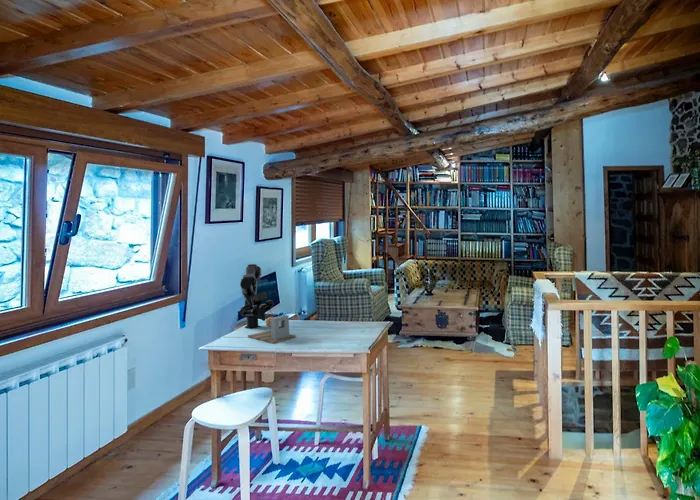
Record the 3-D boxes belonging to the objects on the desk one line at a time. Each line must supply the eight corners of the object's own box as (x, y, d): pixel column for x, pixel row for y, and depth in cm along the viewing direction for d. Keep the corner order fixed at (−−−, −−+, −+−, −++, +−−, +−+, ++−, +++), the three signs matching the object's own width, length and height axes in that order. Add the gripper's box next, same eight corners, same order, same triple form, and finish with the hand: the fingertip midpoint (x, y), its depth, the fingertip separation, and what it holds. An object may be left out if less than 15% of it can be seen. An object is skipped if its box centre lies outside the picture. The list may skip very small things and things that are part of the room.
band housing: (270, 338, 247) (270, 318, 247) (284, 335, 254) (284, 314, 253) (275, 339, 245) (274, 318, 244) (289, 336, 252) (288, 315, 251)
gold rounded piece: (265, 327, 253) (265, 317, 252) (273, 325, 256) (273, 315, 256) (276, 329, 247) (275, 319, 247) (284, 327, 251) (283, 317, 251)
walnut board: (247, 337, 255) (247, 335, 255) (270, 331, 266) (270, 329, 266) (272, 343, 242) (272, 341, 242) (295, 337, 253) (295, 335, 253)
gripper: (242, 289, 253) (256, 313, 246) (271, 285, 266) (285, 307, 260) (233, 303, 259) (247, 327, 252) (262, 298, 272) (276, 320, 266)
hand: (264, 320), depth 257 cm, fingers closed
